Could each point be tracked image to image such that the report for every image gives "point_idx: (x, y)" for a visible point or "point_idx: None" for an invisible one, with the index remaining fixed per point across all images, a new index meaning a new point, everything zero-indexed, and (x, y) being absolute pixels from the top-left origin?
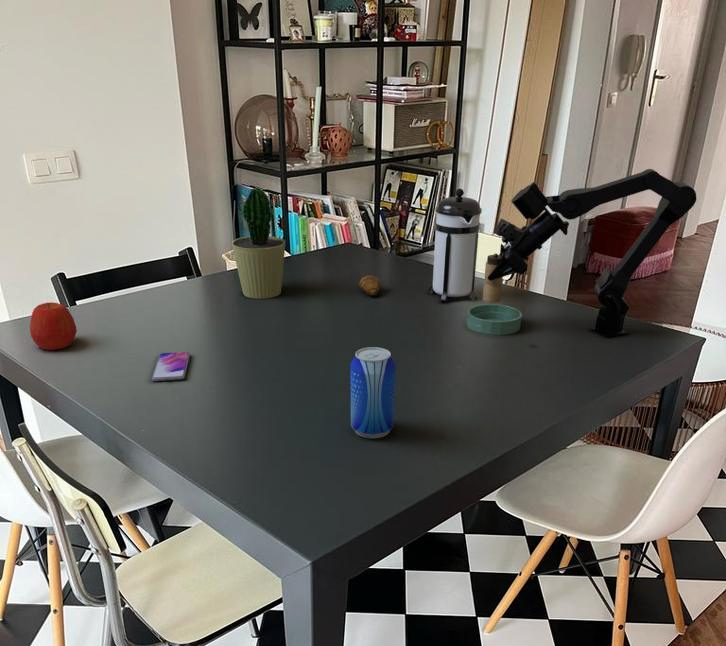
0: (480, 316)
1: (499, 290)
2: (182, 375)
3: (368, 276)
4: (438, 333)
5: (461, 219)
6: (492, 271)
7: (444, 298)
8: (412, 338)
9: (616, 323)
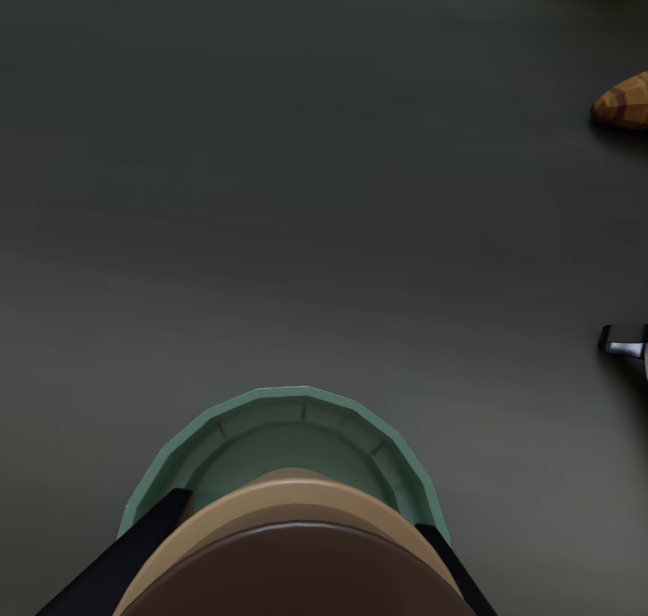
0: (381, 479)
1: None
2: None
3: None
4: (229, 272)
5: None
6: (112, 573)
7: (614, 337)
8: (187, 182)
9: None
